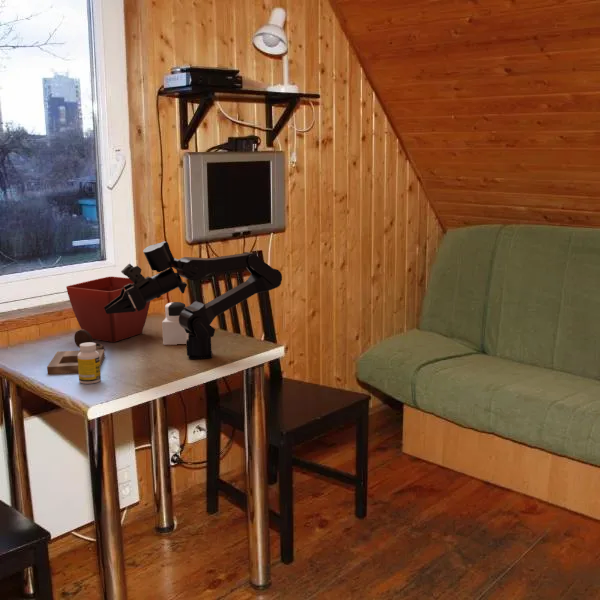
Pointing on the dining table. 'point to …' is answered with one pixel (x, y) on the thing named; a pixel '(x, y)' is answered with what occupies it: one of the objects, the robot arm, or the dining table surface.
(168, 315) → the medicine bottle
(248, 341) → the dining table surface
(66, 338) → the dining table surface
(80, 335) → the compass
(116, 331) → the plant pot
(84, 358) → the supplement bottle
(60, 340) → the dining table surface
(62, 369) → the socket board
